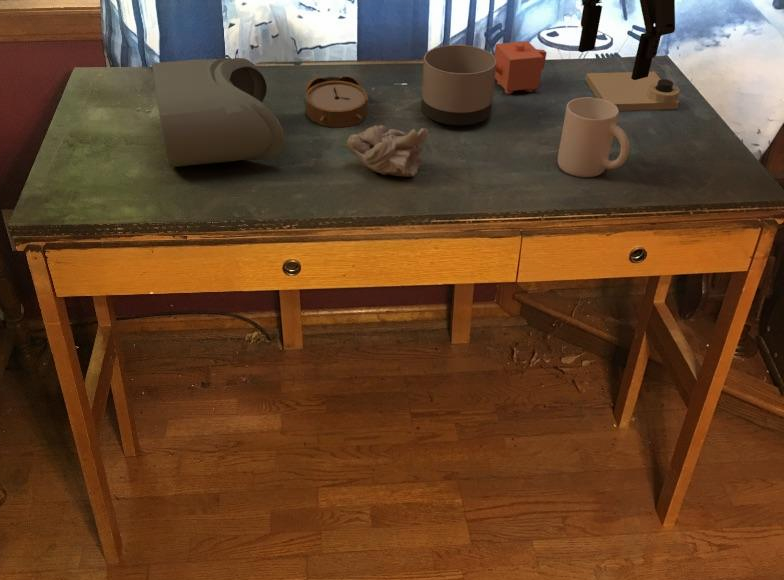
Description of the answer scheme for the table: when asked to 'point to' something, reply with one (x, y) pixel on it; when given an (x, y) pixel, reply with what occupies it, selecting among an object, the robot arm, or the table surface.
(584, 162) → the mug
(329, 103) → the alarm clock
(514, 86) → the orange footed box
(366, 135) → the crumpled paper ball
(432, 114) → the planter
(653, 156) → the table surface
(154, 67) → the grey curved shell
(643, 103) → the scale
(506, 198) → the table surface
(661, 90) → the button
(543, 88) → the table surface
